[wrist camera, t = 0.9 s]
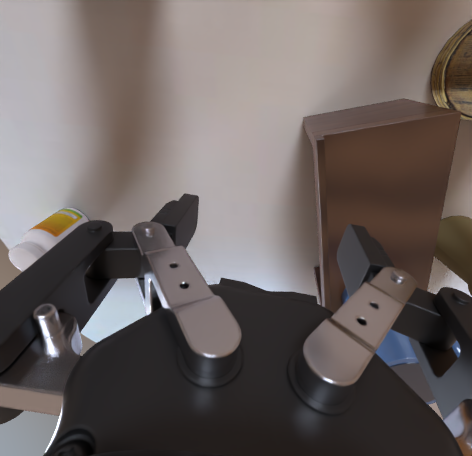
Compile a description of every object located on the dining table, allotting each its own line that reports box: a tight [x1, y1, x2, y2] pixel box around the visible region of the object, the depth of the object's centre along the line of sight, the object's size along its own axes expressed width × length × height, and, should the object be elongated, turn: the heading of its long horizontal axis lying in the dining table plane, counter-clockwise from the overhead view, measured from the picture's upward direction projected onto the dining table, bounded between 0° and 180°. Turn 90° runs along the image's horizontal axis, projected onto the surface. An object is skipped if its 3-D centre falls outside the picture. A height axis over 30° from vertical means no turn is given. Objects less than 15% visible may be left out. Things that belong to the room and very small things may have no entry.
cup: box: [341, 288, 460, 404], centre depth 24 cm, size 6×8×9 cm
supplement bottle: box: [9, 208, 89, 271], centre depth 37 cm, size 5×5×10 cm
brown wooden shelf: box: [303, 99, 462, 313], centre depth 29 cm, size 22×10×11 cm, turn 11°
